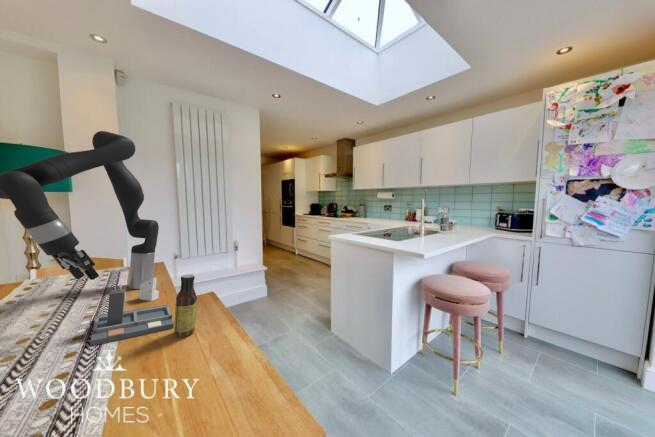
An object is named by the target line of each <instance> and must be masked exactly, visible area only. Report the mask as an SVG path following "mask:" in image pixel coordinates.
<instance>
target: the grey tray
mask: <svg viewBox="0 0 655 437" xmlns="http://www.w3.org/2000/svg"><path fill="white" fill-rule="evenodd" d="M107 320H108V313H105V314H99V315H95V317H94V322H93V327H92V332H91V336H90V337H91V338H90V342H89V344H90V346H89V347H92V346H98V345H102V344H107V343H111V342H115V341H116V342H117V341H120V340H124V339H125V340H126V339H129V338H130V339H131V338H135V337H138V336H143V335H148V334H154V333H157V332H162V331H166V330H167V331H168V330H172V329H174V324H175V322H174V321H173V314H172V312H171V309H170V308H169V305H167V304H163V305H162V304H161V305H156V306H149V307H142V308H136V309H130V310H124V315H123V322H122V324H118V325H113V326H107Z"/></svg>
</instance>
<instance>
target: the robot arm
mask: <svg viewBox="0 0 655 437" xmlns="http://www.w3.org/2000/svg"><path fill="white" fill-rule="evenodd" d="M92 147H93V148H92V149H89V150H81V151H73V152H72V151H71V152H65V153H64V152H63V153H59V154H54V155H52V156H48V157H45V158H44V159H43V158H42V159H39V160H36V161H34V162H33V163H30V164H28V165H25V166H22V167H18V168H15V169H11V170H8V171H4V172H1V173H0V199H2V200H10V202H11V204H12V205H13V206H14V209H15V210H14V212H13V214H14V216H15V218H16V219H17V221H19V222H20V223H21V225H22V226H23V227H24V228H25V230H26V231H27V232H28V235H29V236H30V237H31V239H33V241H34V242H35V243H36V244H37V245H38V247H39V248H40V249H41V251H43V252H44V253H45V255H47V256H51V257H52V258H53V259H54V260H55V261H56V263H57V264H58V265H59V266H60V268H61V269H62V270H66V271H68V272H69V273H70V275H72V276H73V277H74V279H75V280H80V279H81V278H83V277H84V276H85V275H86V276H87V278H88V279H89V280H90V281H93V280H95V279H97V278H98V277H100V276H99V273H98V271H96V269H95V268H94V266H96V263H95V262H94V261H93V260H92V259H91V257H90V256H89V255H88V254H87V252H86V251H85V249H81V250H78V249H76V246H78V245H79V244H80V241H79V240H78V238H77V237H76V235H74V233H73V232H72V231H71V229H70V228H69V226H68V225H67V224H66V223H65V222H64V221H63V220H62V219H61V218H60V217H59V216H58V215H57V213H56V212H55V211H54V209H53V208H52V206H50V204H49V201H48V198H47V196H46V194H45V191H44V190H43V187H45V186H49V185H53V184H57V183H59V182H61V181H65V180H66V179H69V178H72V177H74V176H76V175H78V174H81V173H84V172H87V171H90V170H93V169H96V168H99V167H104V170H105V172H106V174H107V176H108V179H109V181H110V183H111V186H112V188H113V192H114V194H115V197H116V199H117V201H118V203H119V205H120V208H121V211H122V213H123V217H124V221H125V223H126V224H125V225H126V229H127V231H128V234H129V235H130V236H131V237H132V238H136V239H144V242H142V243H140V244H135V245H133V246H132V247H131V250H130V263H129V274H128V275H129V276H128V284H127V285H128V289H131V290H140V285H141V284H142V283H144V282H146V281H149V280H151V279H153V278H154V267H155V257H156V256H155V255H156V254H155V253H156V247H157V244H158V236H159V229H160V228H159V222H158V221H157V220H153V219H143V218H140V217H139V213H138V212H139V210H140V208H141V206H142V204H143V202H144V200H145V194H144V191H143V187H142V186H141V183H140V181H139V180H138V179H137V177H136V176H135V175H134V174H133V173H132V172H131V171H130V170H129V169H128V168H127V166H126V165H125V164H124V162H123V161H126V160H130V158H132V157H133V156H134V155H135V153H136V145H135V143H134V141H133V140H132V139H130V138H129V137H127V136H124V135H122V134H121V135H120V134H118V133H114V132H110V131H106V130H99V131H97V132H95V133H94V135H93V136H92Z"/></svg>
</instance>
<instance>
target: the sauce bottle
mask: <svg viewBox="0 0 655 437" xmlns="http://www.w3.org/2000/svg"><path fill="white" fill-rule="evenodd" d="M180 281H181V283H180V290H179V291H178V293H177V295H176V297H175V298H176V299H175V310H174V326H173V333H174V335H175V336H176V337H179V338H180V337H181V338H183V337H187V336H190V335H192V334H194V332H195V330H196V323H197V320H196V319H197V303H198V298H197V294H196V291H195V287H194V284H195V275H194V274H183V275H181V276H180Z"/></svg>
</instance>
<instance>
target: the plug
mask: <svg viewBox="0 0 655 437" xmlns="http://www.w3.org/2000/svg"><path fill="white" fill-rule="evenodd" d="M122 287H123V286H121V285H120V286H119V289H117V286H114V289H112V290H110V292H109V296H108V297H109V298H108V309H107V314H108V320H107V326H113V325H118V324H122V322H123V315H124V311H125V303H126V302H125V301H126V298H125V297H126V288H122Z"/></svg>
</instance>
